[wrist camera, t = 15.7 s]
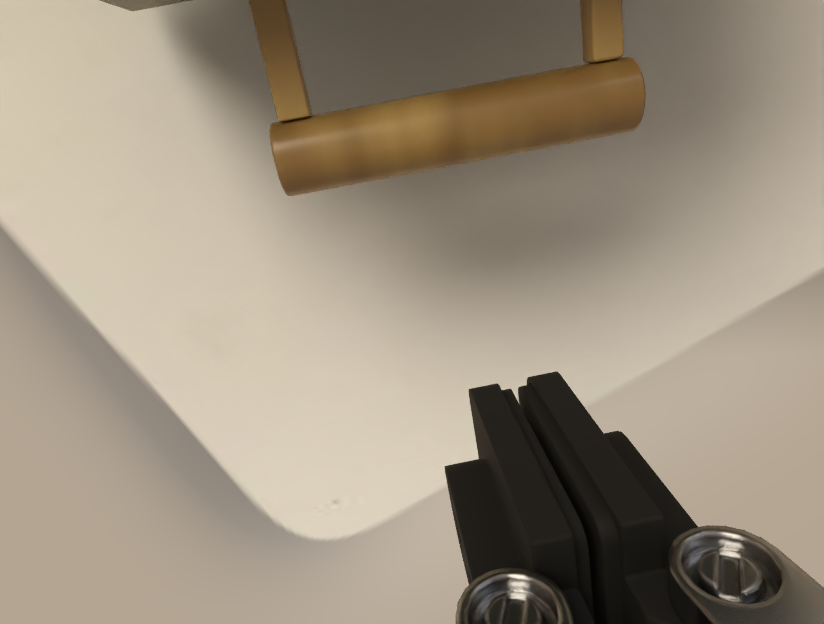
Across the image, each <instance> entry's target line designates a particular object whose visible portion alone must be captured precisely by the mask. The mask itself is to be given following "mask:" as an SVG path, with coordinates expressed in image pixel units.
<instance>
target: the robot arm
mask: <svg viewBox="0 0 824 624" xmlns="http://www.w3.org/2000/svg"><path fill="white" fill-rule="evenodd" d="M518 395H519V403H518V401H517V399H516V397H515V395H514V394H513V392H512V390H511V389H506V390H501V388H500V386H499V385H498V384H492V385H487V386H482V387H477V388H472V389H469V397H470V404H471V411H472V417H473V423H474V430H475V436H476V442H477V449H478V455H479V459H478V460H473V461H468V462H463V463H458V464H453V465H448V466H445V473H446V478H447V484H448V489H449V495H450V500H451V505H452V510H453V515H454V520H455V525H456V530H457V534H458V539H459V544H460V548H461V553H462V557H463V561H464V565H465V570H466V574H467V578H468V582H469V586H468V587H467V588H466V589H465V590H464V592H463V594H462V596H461V598H460V599H459V601H458V605H457V611H456V624H824V588H823V587H822V586H821V585H820V584H819V583H818V582H816V581H815V580H814V579H813V578H812V577H811V576H809V575H808V574H807V573H806V572H805V571H804V570H802V569H801V568H800V567H799V566H798V565H796V564H795V563H794V562H793V561H792V560H791V559H789V558H788V557H787V556H786V555H785V554H784V553H782V552H781V551H780V550H779V549H777V548H776V547H775V546H773V545H772V544H770V543H769V542H767V541H766V540H764V539H763V538H761V537H758V536H756V535H754V534H752V533H749V532H747V531H745V530H741V529H736V528H732V527H727V526H702V527H698V526H697V525H696V524H695V523H694V521H693V520H692V519H691V518H690V516H689V515H688V514H687V513H686V511H685V510H684V509H683V508H682V506H681V505H680V504H679V502H678V501H677V500H676V499H675V497H674V496H673V495H672V494H671V492H670V491H669V490H668V489H667V487H666V486H665V485H664V484H663V482H662V481H661V480H660V479H659V477H658V476H657V475H656V473H655V472H654V471H653V470H652V468H651V467H650V466H649V465H648V463H647V462H646V461H645V460H644V459H643V457H642V456H641V455H640V453H639V452H638V451H637V450H636V448H635V447H634V446H633V444H632V443H631V442H630V441H629V439H628V438H627V437H626V436H625V435H624V434H623V433H622V432H619V431H615V432H610V433H605V434H603V432H602V431H601V429H600V428H599V427H598V425H597V424H596V423H595V421H594V420H593V419H592V417H591V416H590V414H589V413H588V412H587V410H586V409H585V408H584V406H583V405H582V404H581V402H580V401H579V399H578V398H577V397H576V395H575V394H574V393H573V391H572V390H571V389H570V387H569V386H568V384H567V383H566V382H565V380H564V379H563V378H562V376H561V375H560V374H559V373H558V372H552V373H547V374H542V375H537V376H532V377H528V379H527V385H526V386H521V387H519V388H518ZM519 404H520V405H519Z"/></svg>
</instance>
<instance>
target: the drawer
mask: <svg viewBox="0 0 824 624" xmlns="http://www.w3.org/2000/svg"><path fill="white" fill-rule="evenodd" d="M100 1H103V2H106V3H109V4H112V5H115V6H118V7H121V8H124V9H127V10H130V11H136V10H142V9H147V8H153V7H158V6H164V5H169V4H175V3H180V2H186V1H191V0H100ZM249 4H250V8H251V12H252V16H253V20H254V24H255V28H256V32H257V36H258V40H259V44H260V48H261V52H262V56H263V60H264V64H265V68H266V72H267V76H268V80H269V85H270V89H271V93H272V97H273V101H274V105H275V109H276V113H277V117H278V120H279V121H280V122H276V123H272V124H271V125H270V141H271V147H272V153H273V157H274V162H275V166H276V169H277V173H278V176H279V179H280V182H281V185H282V187H283V189H284V191H285V193H286V194H287V195H288V196H295V195H300V194H306V193H311V192H316V191H321V190H326V189H332V188H337V187H342V186H347V185H353V184H358V183H363V182H368V181H374V180H379V179H384V178H389V177H394V176H400V175H405V174H410V173H415V172H421V171H426V170H431V169H436V168H441V167H447V166H452V165H457V164H462V163H468V162H473V161H478V160H483V159H489V158H494V157H499V156H504V155H509V154H515V153H520V152H525V151H530V150H536V149H541V148H546V147H551V146H556V145H562V144H567V143H572V142H577V141H583V140H588V139H593V138H598V137H604V136H609V135H614V134H619V133H624V132H630V131H633V130H634V129H636V128H637V127H638V125H639V124H640V122H641V119H642V116H643V112H644V107H645V86H644V80H643V76H642V72H641V70H640V67H639V65H638V64H637V62H636V61H635V60H634V59H633V58H631V57H622V56H623V22H622V0H580V5H581V23H582V41H583V59H584V62H585V63H589V64H584V65H579V66H573V67H568V68H563V69H557V70H552V71H547V72H542V73H536V74H531V75H526V76H520V77H515V78H510V79H504V80H499V81H494V82H488V83H483V84H478V85H472V86H467V87H462V88H457V89H451V90H446V91H441V92H435V93H430V94H425V95H419V96H414V97H409V98H403V99H398V100H393V101H388V102H382V103H377V104H372V105H366V106H361V107H356V108H350V109H345V110H340V111H334V112H329V113H324V114H319V115H313V116H310V115H312V111H311V106H310V102H309V98H308V93H307V89H306V84H305V80H304V75H303V71H302V67H301V62H300V58H299V53H298V49H297V45H296V40H295V36H294V31H293V27H292V23H291V18H290V14H289V9H288V5H287V0H249Z"/></svg>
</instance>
